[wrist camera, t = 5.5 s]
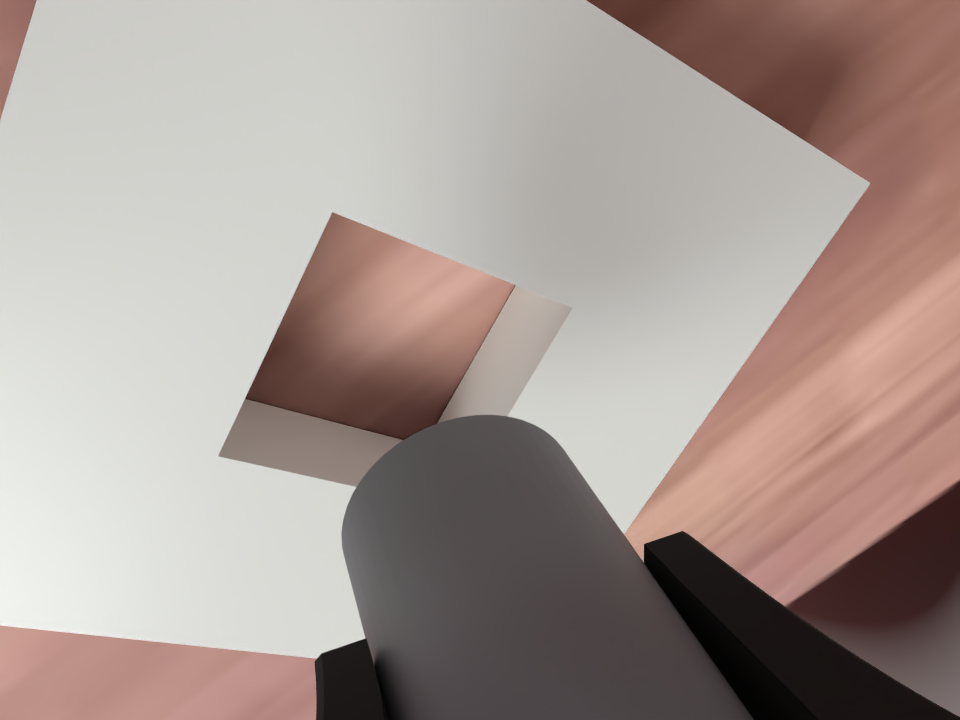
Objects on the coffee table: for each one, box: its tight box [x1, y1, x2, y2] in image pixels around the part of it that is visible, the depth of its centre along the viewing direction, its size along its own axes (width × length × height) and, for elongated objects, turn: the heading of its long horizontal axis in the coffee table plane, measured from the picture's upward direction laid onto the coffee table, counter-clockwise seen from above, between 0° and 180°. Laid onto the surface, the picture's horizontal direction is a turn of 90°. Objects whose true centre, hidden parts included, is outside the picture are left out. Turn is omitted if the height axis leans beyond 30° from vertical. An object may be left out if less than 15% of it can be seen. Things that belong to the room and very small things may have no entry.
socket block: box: [0, 0, 870, 658], centre depth 18 cm, size 16×16×2 cm
